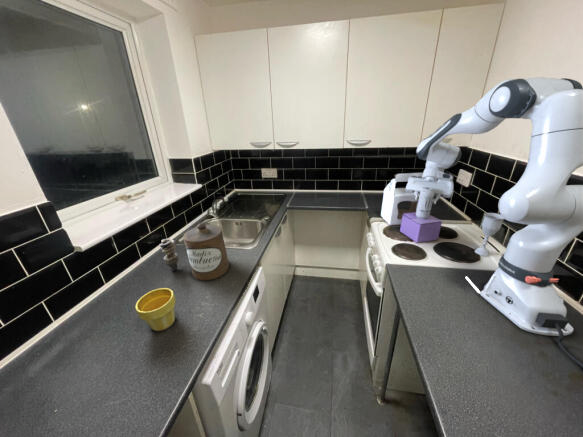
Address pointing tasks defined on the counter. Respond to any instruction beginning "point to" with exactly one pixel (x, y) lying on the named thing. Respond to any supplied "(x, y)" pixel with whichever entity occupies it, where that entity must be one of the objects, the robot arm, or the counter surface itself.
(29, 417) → the counter surface
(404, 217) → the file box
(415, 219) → the flap
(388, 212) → the gable box
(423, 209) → the energy drink can
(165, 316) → the flower pot
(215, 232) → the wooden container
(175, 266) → the grey tall piece
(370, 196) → the counter surface
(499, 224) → the chalice
